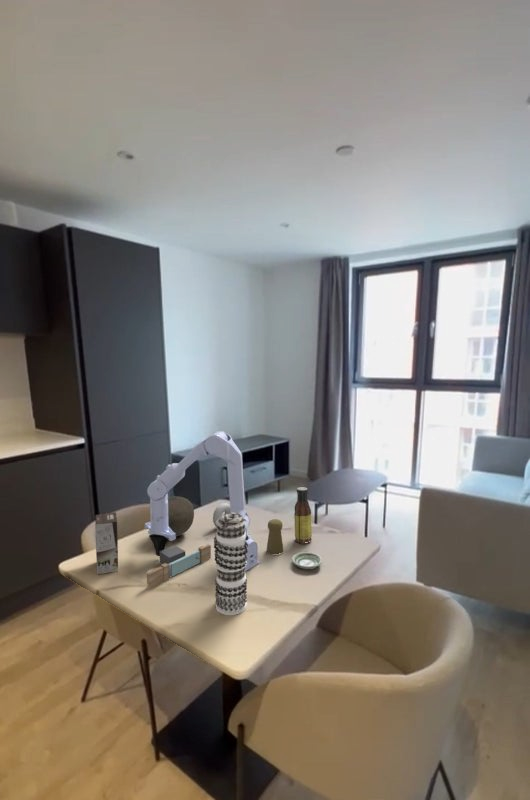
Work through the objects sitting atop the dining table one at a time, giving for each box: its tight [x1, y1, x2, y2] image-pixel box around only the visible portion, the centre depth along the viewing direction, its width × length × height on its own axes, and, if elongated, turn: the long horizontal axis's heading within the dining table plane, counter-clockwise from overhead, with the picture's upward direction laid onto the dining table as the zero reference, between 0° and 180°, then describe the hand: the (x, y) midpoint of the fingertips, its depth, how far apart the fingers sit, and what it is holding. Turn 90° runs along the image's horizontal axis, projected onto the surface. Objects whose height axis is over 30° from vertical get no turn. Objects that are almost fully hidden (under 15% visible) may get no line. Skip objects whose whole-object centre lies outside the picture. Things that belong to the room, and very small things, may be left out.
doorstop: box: [159, 544, 186, 565], centre depth 127 cm, size 6×6×4 cm
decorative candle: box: [213, 513, 249, 616], centre depth 103 cm, size 9×9×25 cm
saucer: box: [291, 551, 323, 570], centre depth 126 cm, size 10×10×2 cm
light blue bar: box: [168, 550, 201, 579], centre depth 122 cm, size 2×12×4 cm, turn 141°
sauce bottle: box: [293, 486, 313, 544], centre depth 143 cm, size 7×6×20 cm
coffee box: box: [94, 511, 119, 575], centre depth 124 cm, size 9×6×16 cm
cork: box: [266, 518, 284, 555], centre depth 135 cm, size 6×6×11 cm
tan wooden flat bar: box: [146, 543, 212, 590], centre depth 121 cm, size 2×24×5 cm, turn 141°
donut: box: [212, 502, 230, 528], centre depth 154 cm, size 10×4×10 cm, turn 141°
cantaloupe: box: [168, 496, 195, 537], centre depth 146 cm, size 14×14×15 cm
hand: (160, 554), depth 129 cm, fingers closed
